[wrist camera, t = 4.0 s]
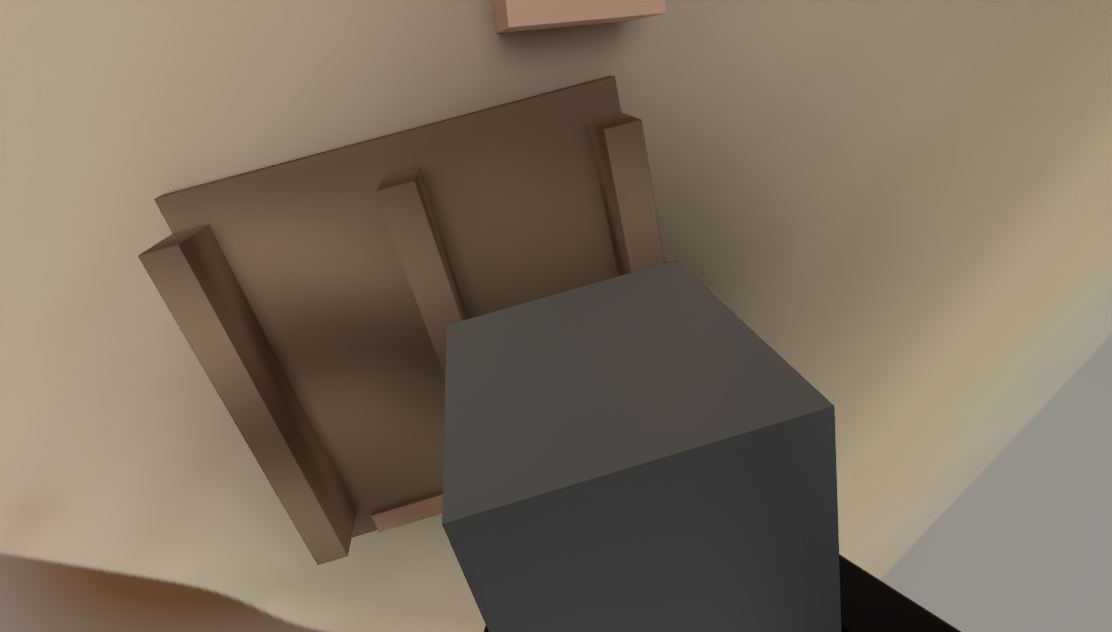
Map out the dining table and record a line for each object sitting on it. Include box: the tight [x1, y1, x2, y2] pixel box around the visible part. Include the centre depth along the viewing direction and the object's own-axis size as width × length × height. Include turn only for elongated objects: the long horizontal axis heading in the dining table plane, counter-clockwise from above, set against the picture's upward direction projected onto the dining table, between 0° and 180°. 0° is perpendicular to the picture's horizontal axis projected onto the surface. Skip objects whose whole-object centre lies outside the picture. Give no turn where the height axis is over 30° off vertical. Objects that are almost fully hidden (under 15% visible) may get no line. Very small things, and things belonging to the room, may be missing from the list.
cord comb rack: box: [138, 76, 665, 565], centre depth 18 cm, size 13×13×2 cm
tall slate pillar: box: [442, 260, 841, 632], centre depth 9 cm, size 9×4×4 cm, turn 14°
